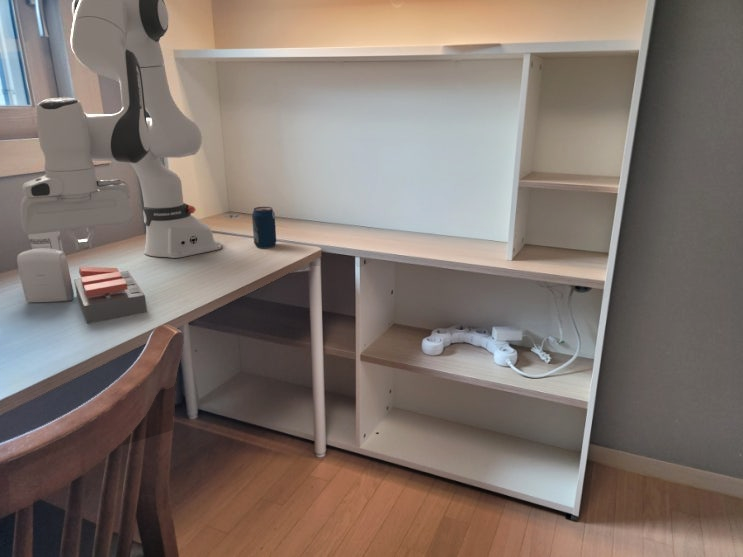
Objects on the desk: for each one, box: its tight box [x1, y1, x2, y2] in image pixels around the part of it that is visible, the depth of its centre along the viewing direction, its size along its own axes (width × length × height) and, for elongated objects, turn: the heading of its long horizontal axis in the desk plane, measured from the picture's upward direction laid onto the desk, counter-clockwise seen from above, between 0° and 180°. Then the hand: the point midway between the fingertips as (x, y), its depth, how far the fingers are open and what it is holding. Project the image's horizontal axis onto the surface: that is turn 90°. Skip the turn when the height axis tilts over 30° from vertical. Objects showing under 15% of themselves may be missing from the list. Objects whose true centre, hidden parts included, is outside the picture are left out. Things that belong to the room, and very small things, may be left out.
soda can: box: [251, 206, 277, 249], centre depth 170 cm, size 7×7×12 cm
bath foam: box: [27, 231, 64, 252], centre depth 138 cm, size 7×7×20 cm
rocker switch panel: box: [73, 270, 148, 324], centre depth 125 cm, size 12×20×5 cm, turn 33°
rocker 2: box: [80, 271, 122, 287], centre depth 123 cm, size 8×4×1 cm, turn 123°
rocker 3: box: [84, 279, 127, 297], centre depth 119 cm, size 8×4×1 cm, turn 123°
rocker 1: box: [78, 266, 120, 278], centre depth 128 cm, size 8×4×1 cm, turn 123°
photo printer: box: [16, 248, 75, 303], centre depth 125 cm, size 10×4×12 cm, turn 95°
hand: (84, 248), depth 114 cm, fingers closed
